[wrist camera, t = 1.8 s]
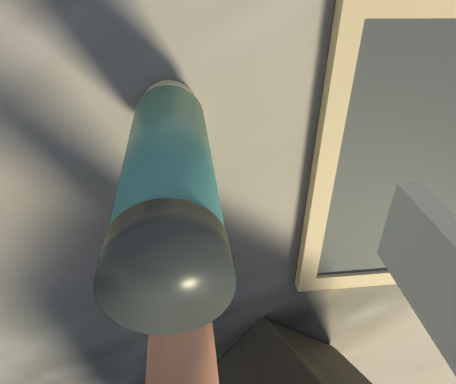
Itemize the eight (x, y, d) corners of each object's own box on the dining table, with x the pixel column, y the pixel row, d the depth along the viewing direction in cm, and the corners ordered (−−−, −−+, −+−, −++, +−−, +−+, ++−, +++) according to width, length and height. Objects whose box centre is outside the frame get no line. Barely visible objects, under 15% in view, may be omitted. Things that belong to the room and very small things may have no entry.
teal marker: (139, 139, 21) (105, 340, 10) (132, 75, 20) (81, 239, 9) (203, 137, 22) (234, 329, 11) (201, 74, 20) (238, 229, 9)
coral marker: (154, 273, 27) (143, 499, 16) (150, 233, 25) (133, 458, 14) (205, 269, 27) (228, 487, 16) (205, 229, 25) (230, 445, 14)
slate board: (294, 282, 29) (297, 292, 28) (338, -12, 18) (345, -11, 18) (485, 267, 31) (493, 276, 30) (623, -10, 20) (640, -9, 19)
